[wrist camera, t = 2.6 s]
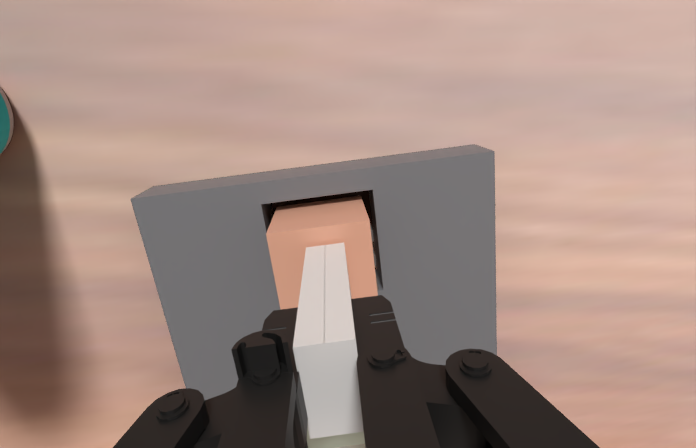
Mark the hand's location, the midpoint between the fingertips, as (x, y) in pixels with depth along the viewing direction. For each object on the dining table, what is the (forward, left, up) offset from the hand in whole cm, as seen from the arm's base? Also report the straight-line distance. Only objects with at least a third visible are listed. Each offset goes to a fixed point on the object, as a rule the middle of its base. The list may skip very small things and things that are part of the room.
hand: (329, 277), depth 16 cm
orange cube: (0, 0, -4) cm, 4 cm away
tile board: (0, -5, -6) cm, 8 cm away
